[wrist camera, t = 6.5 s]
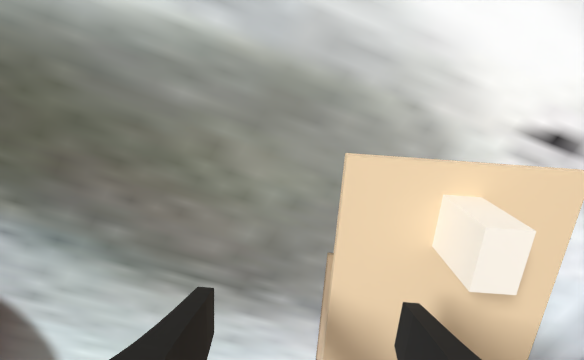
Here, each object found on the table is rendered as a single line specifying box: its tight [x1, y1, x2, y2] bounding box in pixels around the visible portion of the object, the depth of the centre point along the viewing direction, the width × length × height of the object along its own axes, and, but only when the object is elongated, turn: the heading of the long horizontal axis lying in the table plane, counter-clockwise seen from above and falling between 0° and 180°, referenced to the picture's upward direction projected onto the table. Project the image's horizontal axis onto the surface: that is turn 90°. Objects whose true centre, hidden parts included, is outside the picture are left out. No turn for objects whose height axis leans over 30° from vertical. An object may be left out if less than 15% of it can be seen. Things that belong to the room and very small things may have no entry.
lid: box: [321, 153, 584, 360], centre depth 17 cm, size 14×12×5 cm
